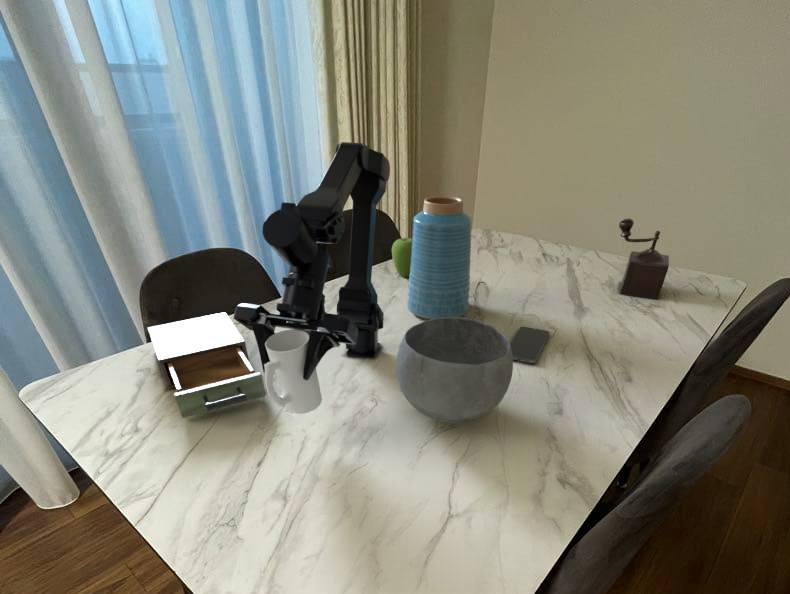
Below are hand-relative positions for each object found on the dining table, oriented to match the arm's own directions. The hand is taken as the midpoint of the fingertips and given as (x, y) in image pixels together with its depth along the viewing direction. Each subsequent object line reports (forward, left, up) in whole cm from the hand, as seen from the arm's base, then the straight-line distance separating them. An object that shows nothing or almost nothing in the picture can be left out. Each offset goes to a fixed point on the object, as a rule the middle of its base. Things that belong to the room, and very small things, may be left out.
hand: (285, 376), depth 73 cm
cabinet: (+30, -23, -13) cm, 40 cm away
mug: (0, -2, -7) cm, 8 cm away
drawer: (+20, -11, -12) cm, 26 cm away
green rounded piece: (-4, -85, -13) cm, 86 cm away
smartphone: (-40, -44, -13) cm, 61 cm away
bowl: (-25, -15, -13) cm, 32 cm away
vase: (-17, -61, -13) cm, 65 cm away
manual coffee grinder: (-71, -87, -13) cm, 113 cm away
